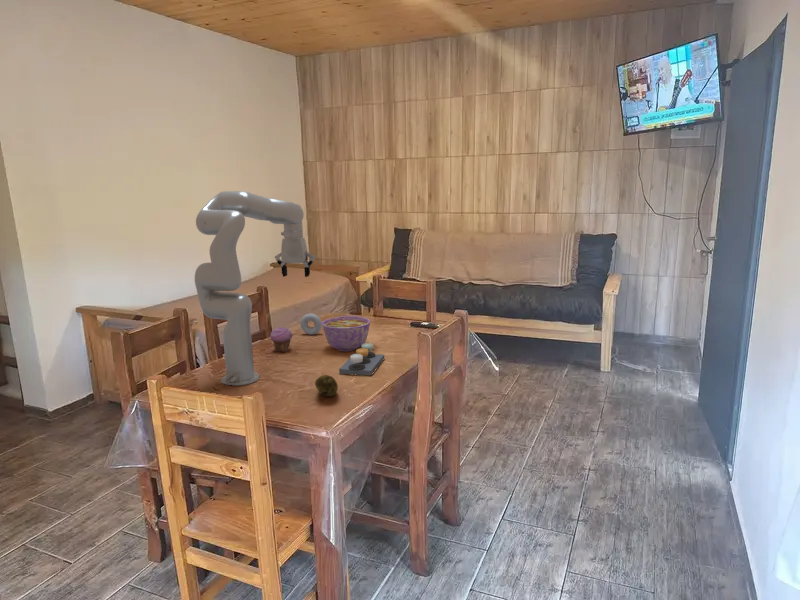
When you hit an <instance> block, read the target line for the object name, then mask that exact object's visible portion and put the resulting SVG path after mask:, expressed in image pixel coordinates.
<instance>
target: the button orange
mask: <svg viewBox="0 0 800 600" xmlns="http://www.w3.org/2000/svg"><path fill="white" fill-rule="evenodd" d="M368 352H369V351H368V349H365V348H362V347H360V348H357V349H356V350H355V353H356V354H361V355H363V357H366V356H368Z"/></svg>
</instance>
